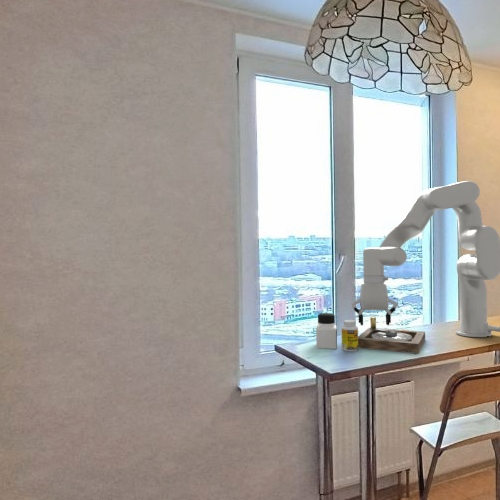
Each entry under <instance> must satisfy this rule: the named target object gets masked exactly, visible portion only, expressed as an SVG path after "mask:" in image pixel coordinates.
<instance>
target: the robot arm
mask: <svg viewBox="0 0 500 500" xmlns="http://www.w3.org/2000/svg"><path fill="white" fill-rule="evenodd" d="M480 194H481V193H480V187H479V185H478V184H477V183H476V182H474V181H473V180H472V181H471V180H465V181H460V182H456V183H451V184H448V185H444V186H437V187H433V188H428V189H425V190H423V191H421V192H420V193H419V194H418V195H417V197H416V199H415V200H414V201H413V203H412V205H411V206H410V207H409V209H408V210H407V213H406V214H405V215H404V217H403V218H402V220H401V221H400V222H399V223H398V224H396V226H395V227H394V228H393V229H392V230H391V231H389V233H388V234H387V235H386V237H384V240H383V241H382V242H381V244H380V246H379V247H366V248H364V249H363V251H362V257H363V258H362V261H363V263H362V264H363V265H362V267H363V283H361V286H360V291H359V292H360V294H359V295H360V297H359V298H358V299H355V300H354V301H352V302H351V303H350V305H351V307H352V308H353V311H355V312H356V313H357V315H358V323H359V324H360V326H363V325H364V315H363V313H364V312H365V311H385V324H386V326H390V323H392V321H391V320H392V319H391V317H392V314H393V313H394V312H395V311H396V309H397V307H398V305H399V303H398V302H396V301H394V300H392V299H391V298H389V293H388V287H387V284H386V283H385V282H386V281H388V280H389V277H388V276H385V267H400V266H402V265H404V264H405V263H406V261H407V260H408V259H407V258H408V257H407V253H406V250H404V249H403V248H402V247H403V246H404V245H405V243H407V242H408V241H410V240H411V239H413V238H415V237H417V236H418V235H420V234H421V233H422V232H423V231H424V230H425V228H426V227H427V225H428V223H429V222H430V220H431V219H432V218H433V216H434V215H435V212H436V211H443V210H448V209H452V210H454V212H455V215H456V218H457V231H458V233H457V234H458V242H459V246H460V248H462V249H463V250H466V251H471V252H472V251H475V253H467V254H464V255H462V256H461V257H459V259H458V260H457V262H456V273H457V277H458V286H459V287H458V288H459V328H457V329H456V330H455V334H456V335H458V336H463V337H469V338H488V337H487V336H489V337H492V335H493V333H492V332H495V333H496V332H500V326H497V325H491V324H489V323H488V303H487V302H488V297H487V292H488V289H487V285H486V282H485V281H491V280H495V279H496V278H497V277H498V276H499V275H500V236H499V233H498V231H497V230H496V229H495V228H493V227H492V226H489V225H483V217H482V210H481V208H480V207H479V205H478V203H477V202H476V201H477V200H478V198H479V196H480ZM389 303H390V304H392V306H391V308H390V309H389ZM358 304H359V306H360V308H357V306H356V305H358Z"/></svg>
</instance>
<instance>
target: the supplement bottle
mask: <svg viewBox="0 0 500 500" xmlns="http://www.w3.org/2000/svg"><path fill="white" fill-rule="evenodd" d="M356 325H357V324H356V320H354V319H353V320H352V319H346V320H343V325H342V326H341V349H342V350H343V352H344V351H345V352H351V353H352V352H357V351H358V350H359V348H358V336H359V327H358V326H356Z"/></svg>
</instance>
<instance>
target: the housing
mask: <svg viewBox="0 0 500 500" xmlns="http://www.w3.org/2000/svg"><path fill="white" fill-rule="evenodd" d="M370 328H371V327H368V328H366V329H365V330H364V331H363V332H362V333H360V335H359V334H358V349H367V350H377V351H378V350H379V351H389V352H398V353H410V354H411V353H412V354H420V352H421V350H422V347H423V346H424V344H425V342H426V331H424V330H423V331H422V330H420V331H419V330H410V329H394V328H393V329H392V328H382V329H383V330H388V331H396V332H398V333H405V334H408V335H411V336H412V342H410V341H397V340H385V339H373V338H372V334H374V333H378V332H377V331H373V330H370ZM377 328H378V329H381V328H379V327H377Z"/></svg>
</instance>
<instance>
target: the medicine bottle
mask: <svg viewBox="0 0 500 500" xmlns="http://www.w3.org/2000/svg"><path fill="white" fill-rule="evenodd" d="M335 317H336V315H335V314H334V313H332V312H321V313H319V314H318V315H317V325H316V328H315V332H316V333H315V334H316V335H315V336H316V337H315V338H316V339H315V341H316V342H315V343H316V345H315V347H316V349H321V348H327V349H329V350H336V349H338V335H337V334H338V333H337V329H338V326H337V325H336V319H335Z"/></svg>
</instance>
